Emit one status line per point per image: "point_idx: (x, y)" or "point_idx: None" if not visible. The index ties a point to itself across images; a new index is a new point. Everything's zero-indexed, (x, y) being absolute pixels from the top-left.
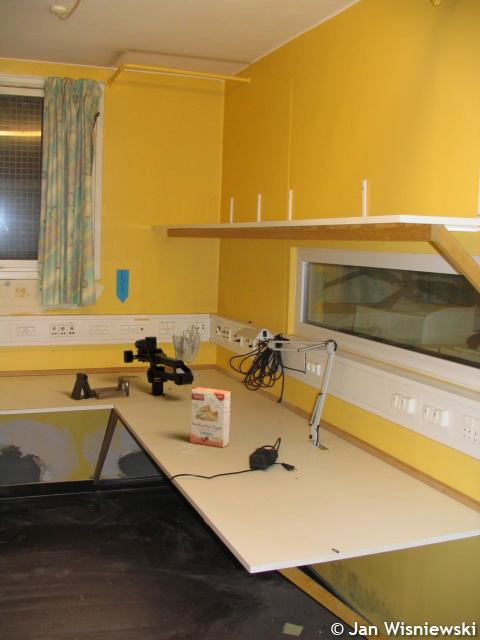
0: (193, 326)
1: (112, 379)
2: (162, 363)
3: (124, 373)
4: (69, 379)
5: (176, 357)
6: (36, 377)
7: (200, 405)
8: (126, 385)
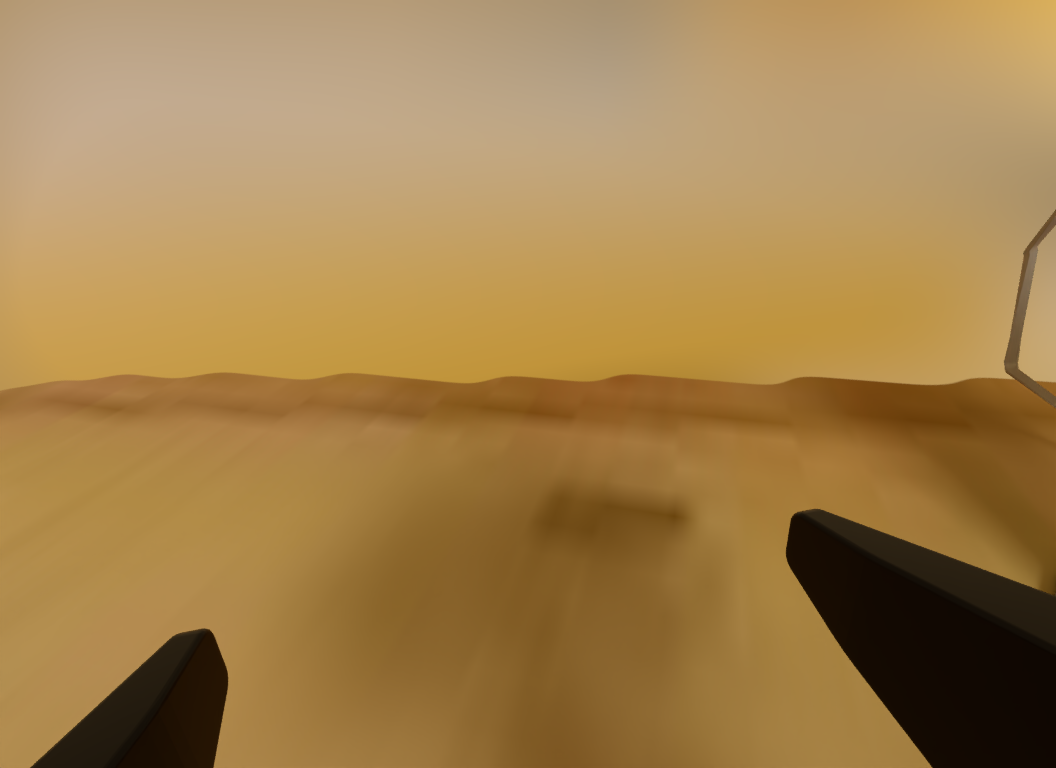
0: None
1: (437, 571)
2: None
3: (594, 439)
4: (143, 508)
5: (1019, 344)
6: (47, 438)
7: None
8: None
